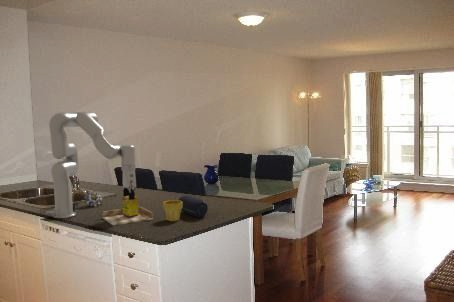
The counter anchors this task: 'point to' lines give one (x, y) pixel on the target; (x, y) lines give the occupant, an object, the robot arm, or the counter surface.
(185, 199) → the portable speaker
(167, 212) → the plant pot
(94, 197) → the passion flower
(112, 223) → the arena
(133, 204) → the supplement box
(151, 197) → the counter surface
